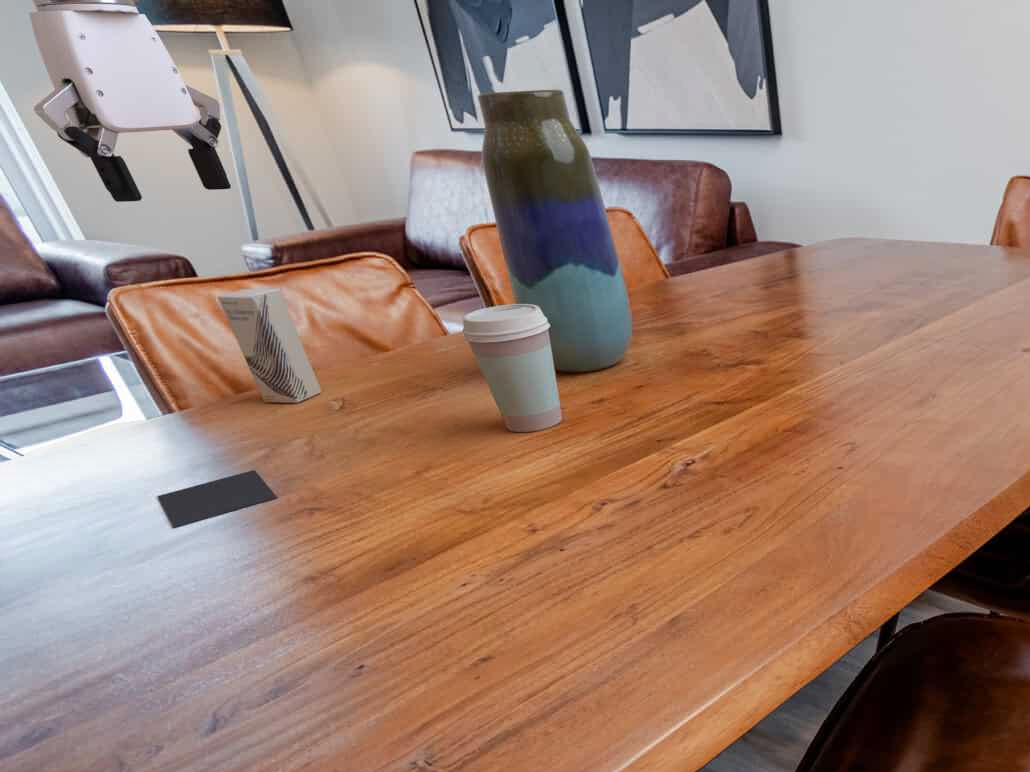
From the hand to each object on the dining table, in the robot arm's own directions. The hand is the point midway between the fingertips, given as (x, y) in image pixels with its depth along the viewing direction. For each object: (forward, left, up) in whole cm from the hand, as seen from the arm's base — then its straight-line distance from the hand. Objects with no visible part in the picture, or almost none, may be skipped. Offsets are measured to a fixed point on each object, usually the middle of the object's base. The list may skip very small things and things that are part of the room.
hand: (175, 194), depth 87 cm
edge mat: (-10, -26, -24) cm, 37 cm away
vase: (+34, -14, -24) cm, 44 cm away
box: (+3, +4, -24) cm, 24 cm away
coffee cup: (+19, -31, -24) cm, 44 cm away
